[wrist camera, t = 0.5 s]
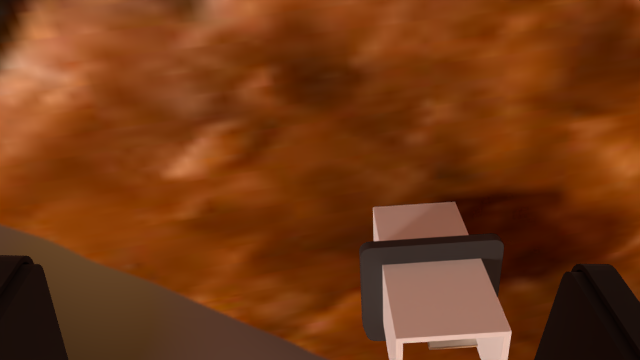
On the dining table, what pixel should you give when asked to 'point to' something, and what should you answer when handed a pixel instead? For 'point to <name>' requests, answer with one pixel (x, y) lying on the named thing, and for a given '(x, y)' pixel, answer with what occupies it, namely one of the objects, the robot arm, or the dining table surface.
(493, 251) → the white flanged box
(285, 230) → the dining table surface
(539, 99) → the dining table surface
